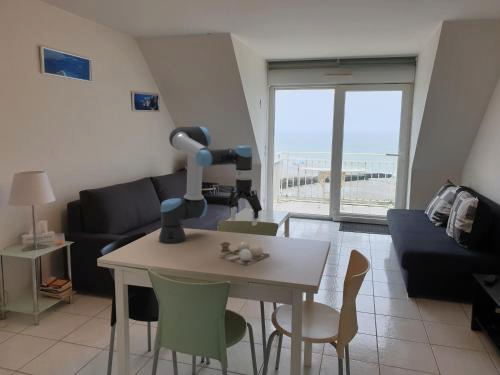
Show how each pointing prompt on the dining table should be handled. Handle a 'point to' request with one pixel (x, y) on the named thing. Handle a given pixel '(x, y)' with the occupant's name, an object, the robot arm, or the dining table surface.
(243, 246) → the pale beige ball
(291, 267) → the dining table surface
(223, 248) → the stand
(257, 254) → the cream white ball
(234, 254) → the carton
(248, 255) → the white ball
